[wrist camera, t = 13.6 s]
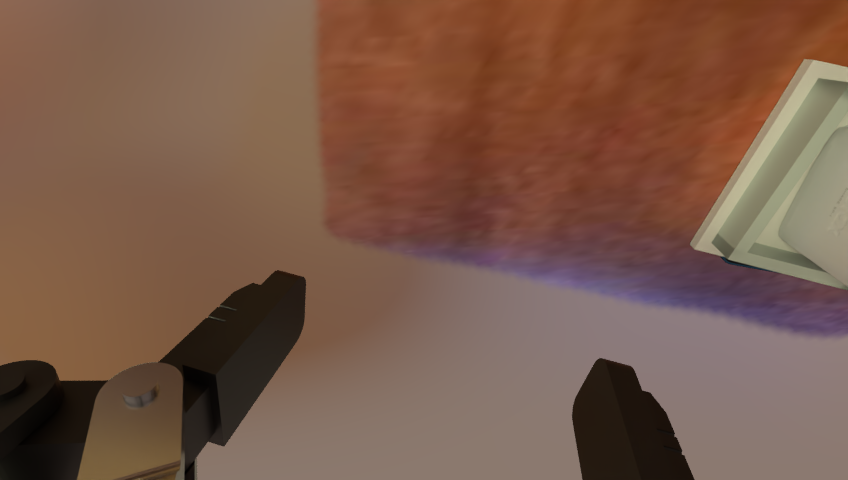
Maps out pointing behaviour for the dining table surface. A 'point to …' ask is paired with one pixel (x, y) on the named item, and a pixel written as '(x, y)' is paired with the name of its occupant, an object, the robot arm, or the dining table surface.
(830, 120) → the printer dock
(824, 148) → the photo printer
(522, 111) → the dining table surface
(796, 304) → the dining table surface
